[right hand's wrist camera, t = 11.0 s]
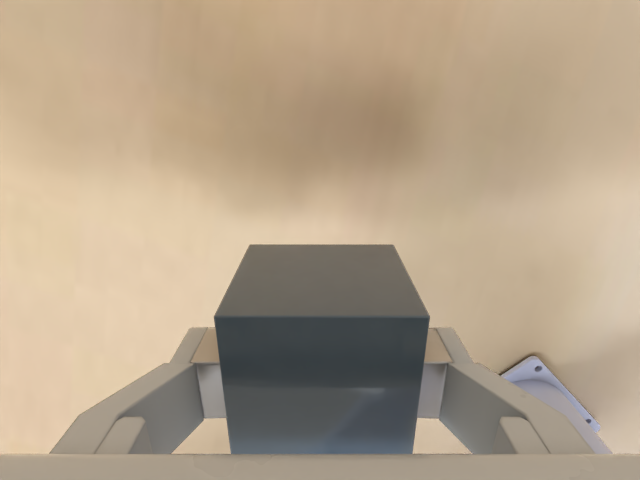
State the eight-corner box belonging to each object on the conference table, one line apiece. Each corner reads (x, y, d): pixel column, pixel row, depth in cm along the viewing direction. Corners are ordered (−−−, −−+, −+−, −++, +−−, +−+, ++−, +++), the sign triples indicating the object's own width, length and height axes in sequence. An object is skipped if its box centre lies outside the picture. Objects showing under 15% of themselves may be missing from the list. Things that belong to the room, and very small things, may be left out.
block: (393, 244, 11) (430, 316, 8) (383, 374, 13) (409, 485, 9) (249, 244, 11) (213, 316, 8) (259, 374, 13) (234, 485, 9)
